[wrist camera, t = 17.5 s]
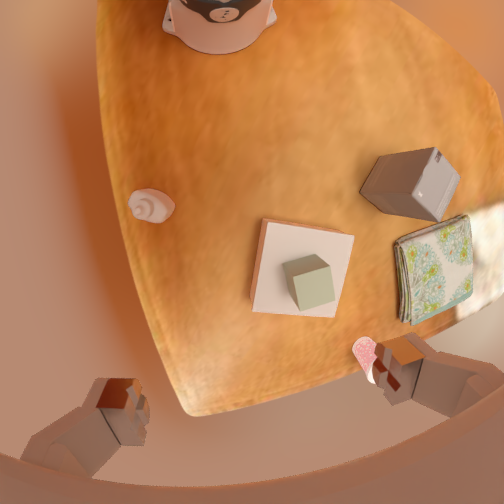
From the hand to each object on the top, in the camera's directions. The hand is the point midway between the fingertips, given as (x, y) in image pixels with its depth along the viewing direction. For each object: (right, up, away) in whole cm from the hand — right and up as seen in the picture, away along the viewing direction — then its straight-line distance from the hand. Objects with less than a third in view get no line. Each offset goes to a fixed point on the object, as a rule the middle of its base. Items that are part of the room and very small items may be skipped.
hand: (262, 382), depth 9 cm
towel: (+37, +1, +43) cm, 57 cm away
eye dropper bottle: (-15, +12, +34) cm, 39 cm away
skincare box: (+22, +16, +37) cm, 46 cm away
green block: (+7, +1, +33) cm, 34 cm away
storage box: (+7, +2, +39) cm, 40 cm away
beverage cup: (+22, -15, +45) cm, 52 cm away
